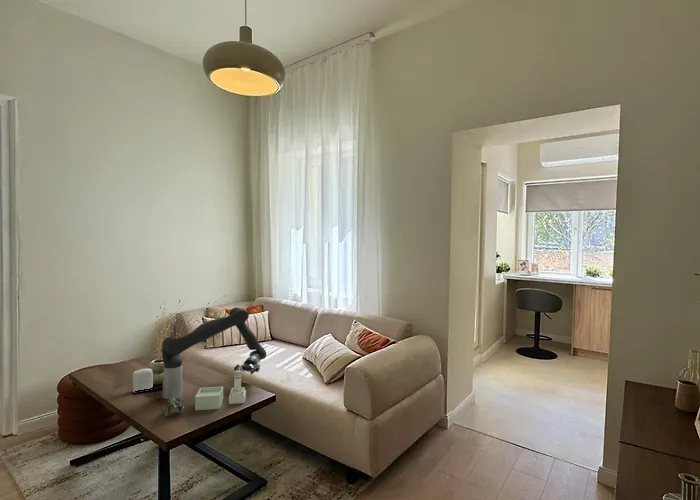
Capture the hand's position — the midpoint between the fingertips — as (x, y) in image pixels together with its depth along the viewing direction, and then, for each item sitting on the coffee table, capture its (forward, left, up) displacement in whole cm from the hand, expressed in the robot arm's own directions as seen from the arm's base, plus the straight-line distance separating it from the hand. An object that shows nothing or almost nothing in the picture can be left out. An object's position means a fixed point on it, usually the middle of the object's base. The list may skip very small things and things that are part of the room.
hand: (243, 372), depth 219 cm
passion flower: (-32, -24, -12) cm, 42 cm away
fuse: (-2, -11, -7) cm, 13 cm away
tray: (-16, -14, -11) cm, 24 cm away
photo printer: (-58, +12, -12) cm, 60 cm away
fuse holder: (-2, -11, -11) cm, 16 cm away
